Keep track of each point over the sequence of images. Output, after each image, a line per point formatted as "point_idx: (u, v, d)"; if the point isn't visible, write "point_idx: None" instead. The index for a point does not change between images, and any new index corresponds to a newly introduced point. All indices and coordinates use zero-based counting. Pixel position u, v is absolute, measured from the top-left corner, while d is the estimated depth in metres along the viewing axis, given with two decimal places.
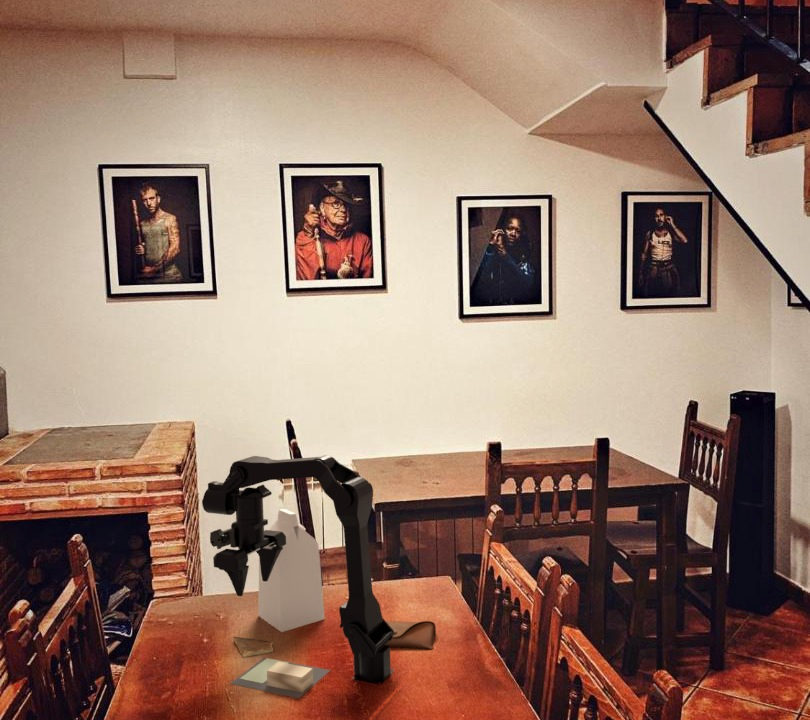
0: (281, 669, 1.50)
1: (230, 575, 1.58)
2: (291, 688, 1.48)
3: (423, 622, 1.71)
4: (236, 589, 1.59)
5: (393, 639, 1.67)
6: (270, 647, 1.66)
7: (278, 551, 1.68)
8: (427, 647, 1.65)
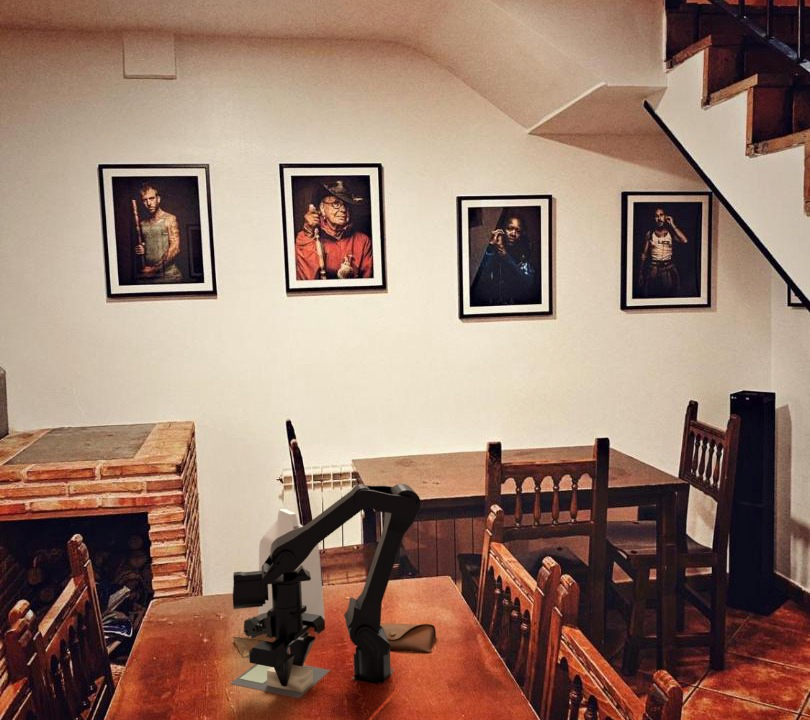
0: None
1: None
2: (291, 688, 1.48)
3: (423, 625, 1.70)
4: (280, 679, 1.48)
5: (391, 642, 1.66)
6: None
7: (311, 643, 1.52)
8: (425, 650, 1.64)
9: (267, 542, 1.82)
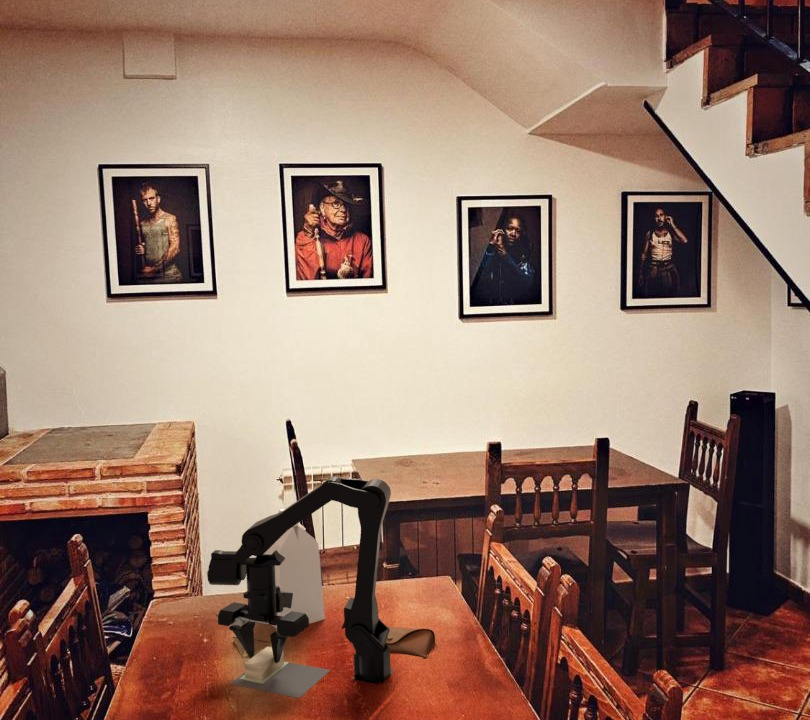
0: (267, 652, 1.58)
1: None
2: None
3: (421, 629, 1.67)
4: None
5: None
6: None
7: (273, 637, 1.51)
8: (421, 655, 1.61)
9: None
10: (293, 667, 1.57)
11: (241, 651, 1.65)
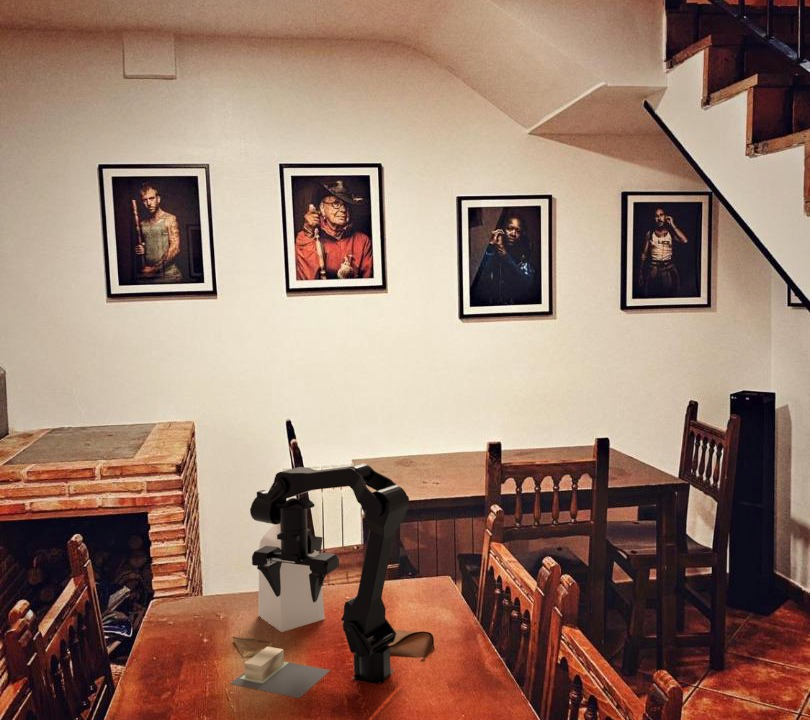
0: (267, 652, 1.58)
1: None
2: None
3: (420, 632, 1.66)
4: None
5: None
6: None
7: (312, 576, 1.59)
8: None
9: (267, 542, 1.82)
10: (293, 667, 1.57)
11: (241, 651, 1.65)
